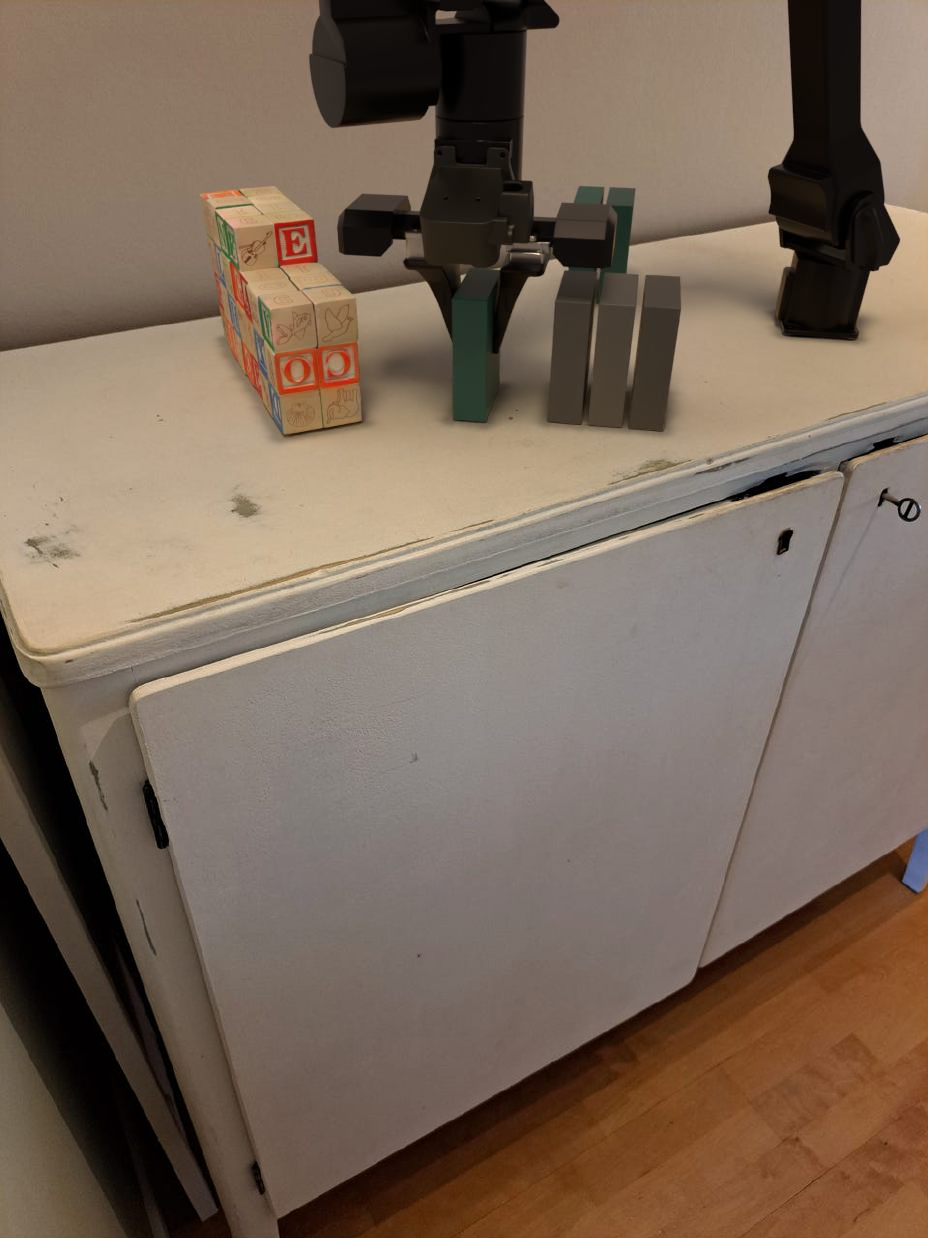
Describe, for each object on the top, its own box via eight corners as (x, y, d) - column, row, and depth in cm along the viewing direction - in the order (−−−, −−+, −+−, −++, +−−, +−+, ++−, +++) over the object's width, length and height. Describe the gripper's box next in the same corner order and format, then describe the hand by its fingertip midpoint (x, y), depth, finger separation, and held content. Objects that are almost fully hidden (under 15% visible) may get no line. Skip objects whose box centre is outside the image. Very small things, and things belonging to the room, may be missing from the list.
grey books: (663, 392, 71) (680, 276, 66) (663, 431, 66) (681, 308, 61) (556, 384, 73) (564, 269, 67) (547, 422, 67) (554, 300, 62)
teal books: (625, 282, 93) (635, 187, 87) (622, 305, 88) (633, 205, 82) (572, 279, 94) (578, 185, 88) (566, 301, 88) (572, 203, 83)
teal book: (499, 384, 72) (502, 269, 67) (485, 422, 67) (487, 300, 61) (468, 382, 73) (469, 267, 67) (452, 419, 67) (451, 298, 62)
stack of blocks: (365, 423, 67) (353, 250, 59) (282, 438, 65) (259, 262, 57) (291, 328, 82) (274, 182, 75) (223, 338, 81) (198, 189, 73)
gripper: (300, 133, 53) (325, 385, 63) (621, 144, 50) (595, 405, 60) (352, 102, 62) (367, 328, 71) (628, 110, 59) (605, 343, 69)
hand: (477, 350), depth 67 cm, fingers closed on teal book, 2 cm apart
